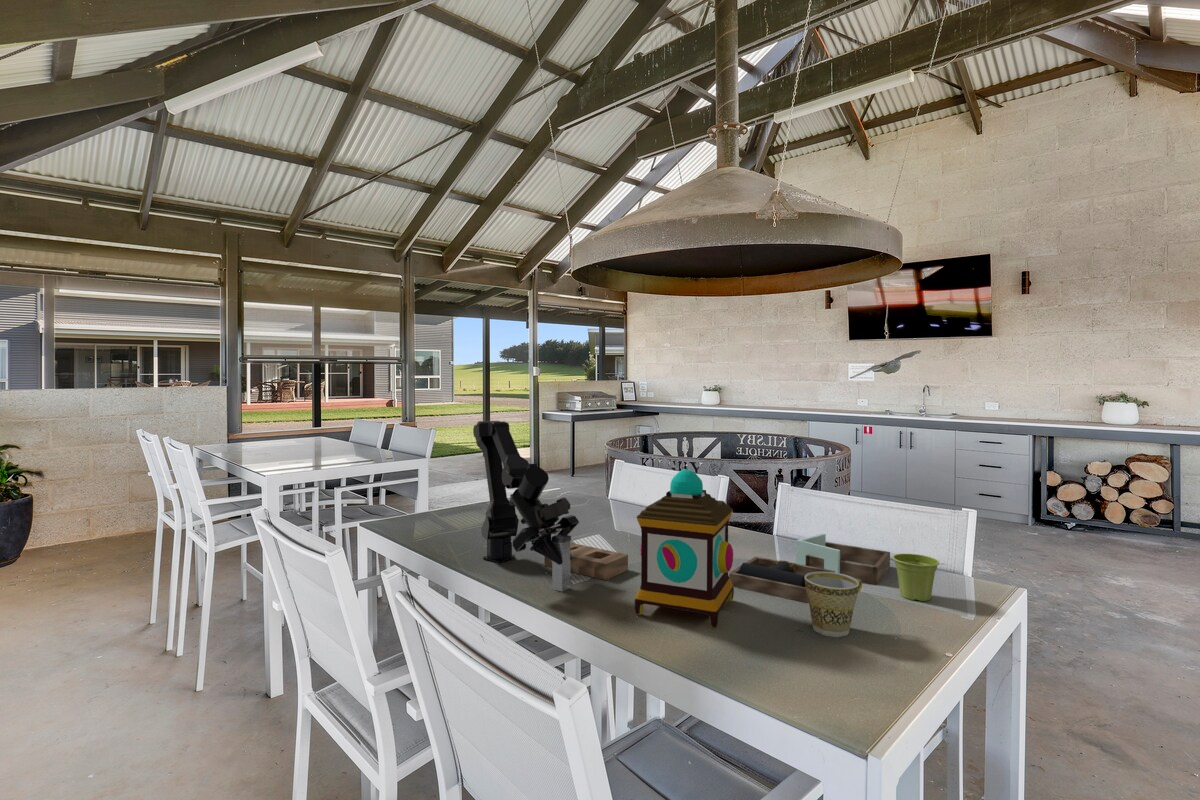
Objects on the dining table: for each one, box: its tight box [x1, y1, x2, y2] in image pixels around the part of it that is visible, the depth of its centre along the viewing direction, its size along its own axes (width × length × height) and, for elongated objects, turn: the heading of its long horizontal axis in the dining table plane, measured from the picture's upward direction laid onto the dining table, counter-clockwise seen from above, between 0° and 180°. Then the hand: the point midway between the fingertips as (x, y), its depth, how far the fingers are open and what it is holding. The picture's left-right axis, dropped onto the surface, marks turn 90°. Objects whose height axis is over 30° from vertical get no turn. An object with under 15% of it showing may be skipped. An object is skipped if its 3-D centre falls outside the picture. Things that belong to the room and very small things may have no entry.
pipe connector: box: [739, 559, 805, 587], centre depth 138 cm, size 12×5×15 cm
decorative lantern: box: [634, 468, 735, 629], centre depth 124 cm, size 20×20×30 cm
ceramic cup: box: [804, 572, 863, 638], centre depth 113 cm, size 13×10×10 cm
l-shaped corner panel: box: [795, 532, 841, 573], centre depth 151 cm, size 12×12×8 cm
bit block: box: [544, 542, 629, 581], centre depth 151 cm, size 20×10×4 cm, turn 54°
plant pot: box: [892, 553, 940, 602], centre depth 131 cm, size 9×9×9 cm
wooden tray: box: [728, 556, 835, 604], centre depth 139 cm, size 20×17×3 cm
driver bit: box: [551, 534, 572, 593], centre depth 135 cm, size 3×3×12 cm
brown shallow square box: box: [806, 541, 891, 586], centre depth 151 cm, size 17×17×4 cm
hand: (566, 561), depth 134 cm, fingers closed on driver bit, 3 cm apart
